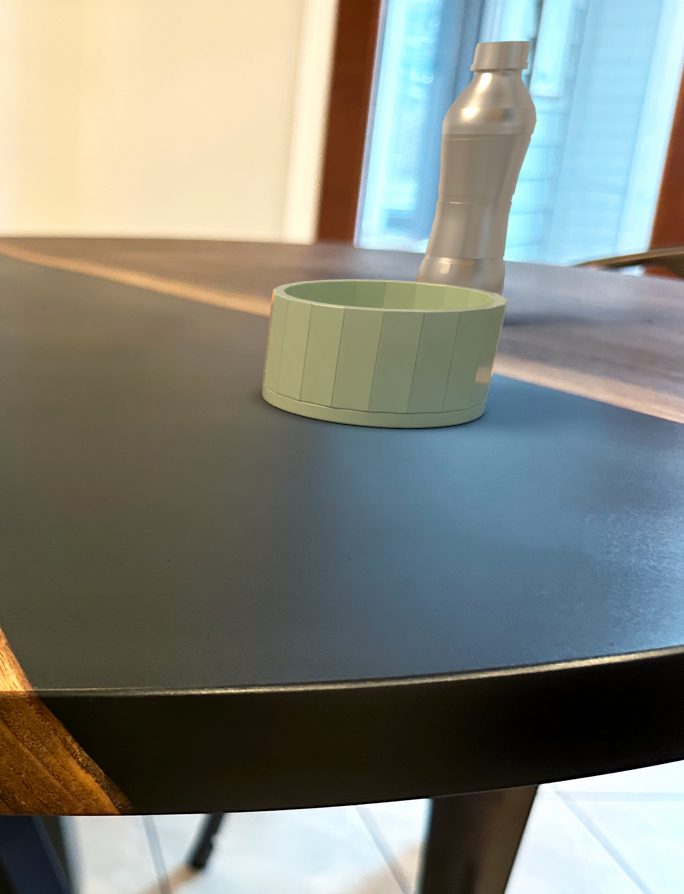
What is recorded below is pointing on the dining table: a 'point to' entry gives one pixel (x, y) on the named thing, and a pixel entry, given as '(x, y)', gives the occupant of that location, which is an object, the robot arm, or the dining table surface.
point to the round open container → (382, 351)
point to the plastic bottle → (480, 170)
